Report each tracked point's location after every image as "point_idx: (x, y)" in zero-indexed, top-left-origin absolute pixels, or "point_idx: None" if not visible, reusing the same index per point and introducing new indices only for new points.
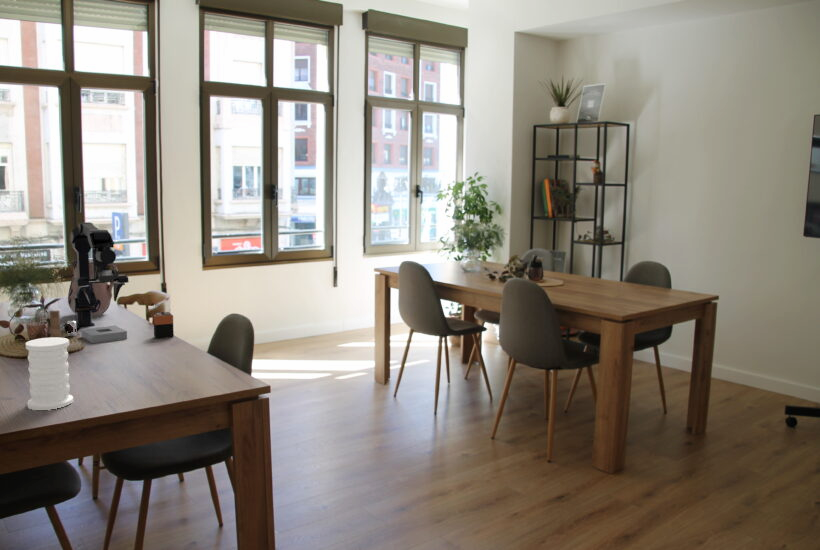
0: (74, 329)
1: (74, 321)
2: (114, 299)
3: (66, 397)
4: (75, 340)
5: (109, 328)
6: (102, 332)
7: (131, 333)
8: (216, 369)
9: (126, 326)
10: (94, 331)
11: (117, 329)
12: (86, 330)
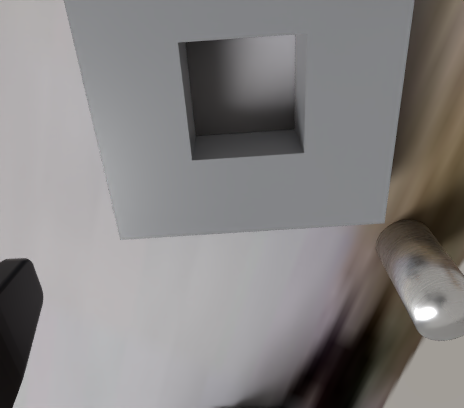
0: (418, 252)
1: (433, 305)
2: (24, 304)
3: None
4: (445, 112)
5: (184, 156)
6: (285, 11)
7: (21, 131)
8: None
9: (42, 334)
10: (330, 100)
11: (127, 75)
12: (367, 173)
